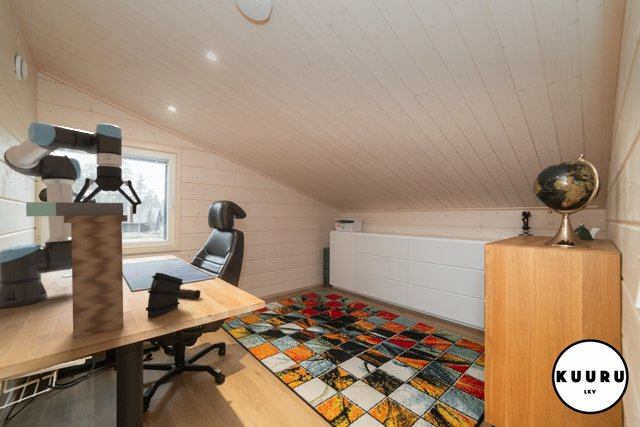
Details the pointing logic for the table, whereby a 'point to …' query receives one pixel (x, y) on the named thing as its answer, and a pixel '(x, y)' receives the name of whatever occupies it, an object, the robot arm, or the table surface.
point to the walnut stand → (96, 273)
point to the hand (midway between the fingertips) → (109, 223)
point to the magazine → (163, 295)
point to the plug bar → (72, 209)
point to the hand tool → (189, 294)
